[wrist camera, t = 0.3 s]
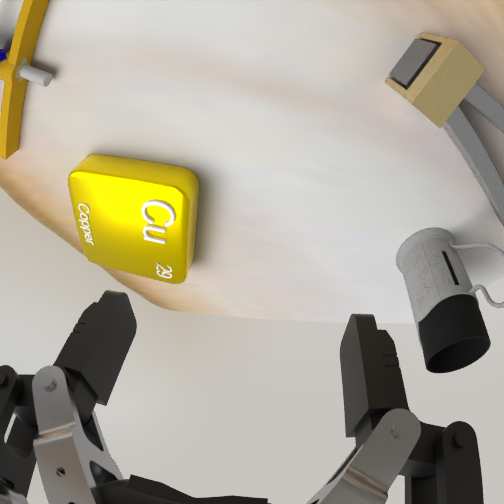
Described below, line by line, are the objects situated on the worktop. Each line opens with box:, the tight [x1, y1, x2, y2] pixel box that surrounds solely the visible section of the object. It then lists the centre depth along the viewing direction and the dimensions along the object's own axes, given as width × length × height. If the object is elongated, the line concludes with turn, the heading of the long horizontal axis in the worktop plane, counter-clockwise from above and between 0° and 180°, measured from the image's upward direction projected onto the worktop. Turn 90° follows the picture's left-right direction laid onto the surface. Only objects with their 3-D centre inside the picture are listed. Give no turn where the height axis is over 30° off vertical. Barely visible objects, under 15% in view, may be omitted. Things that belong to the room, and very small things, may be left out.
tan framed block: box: [385, 33, 485, 128], centre depth 18 cm, size 3×6×7 cm, turn 153°
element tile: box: [68, 154, 200, 284], centre depth 35 cm, size 15×15×5 cm
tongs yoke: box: [389, 39, 439, 89], centre depth 19 cm, size 3×5×5 cm, turn 153°
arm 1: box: [442, 106, 504, 226], centre depth 24 cm, size 20×2×4 cm, turn 53°
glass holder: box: [396, 228, 504, 373], centre depth 28 cm, size 9×14×15 cm, turn 162°
